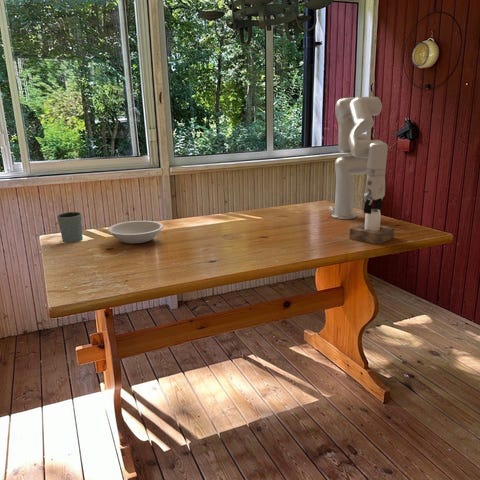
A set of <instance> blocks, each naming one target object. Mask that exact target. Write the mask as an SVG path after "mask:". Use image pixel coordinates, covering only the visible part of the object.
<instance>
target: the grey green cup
mask: <svg viewBox="0 0 480 480" xmlns="http://www.w3.org/2000/svg"><path fill="white" fill-rule="evenodd" d="M56 218H57V222H58V226H59V229H60V231H59V232H60V235H61V241H62V242H63V243H65V244H73V243H79V242H81V241H83V224H82V212H79V211H68V212H67V211H66V212H62V213H59V214H58V215H56Z"/></svg>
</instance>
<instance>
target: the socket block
mask: <svg viewBox="0 0 480 480" xmlns="http://www.w3.org/2000/svg"><path fill="white" fill-rule="evenodd" d="M364 228H365V222H363V223H361V224H358V225H356V226H353V227H351V228H349V237H348V238H349V239H351V240H354V241H360V242H364V243H368V244H369V243H370V244H373V245H374V244H375V245H379V246H380V245H381V244H384V243H386V242H387V241H389V240H391V239H394V237H395V236H394V235H395V227H393V226H387V225H381V224H380V230H378V231H371V230H365V229H364Z"/></svg>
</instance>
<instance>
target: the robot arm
mask: <svg viewBox="0 0 480 480" xmlns="http://www.w3.org/2000/svg"><path fill="white" fill-rule="evenodd" d="M382 109H383V105H382V101H381V100H380V98H379V97H378V96H358V97H356V96H355V97H343V98H339V99H338V100H337V101H336V104H335V108H334V113H335V117H336V120H337V125H338V127H337V128H338V129H337V130H338V135H337V136H338V139H337V140H338V141H337V147H338V151H339V152H340V153H342V154H351V155H343V156H342V155H341V156H339V157H337V158H336V159H335V160H334V161H335V162H334V168H335V169H334V171H335V193H334V197H335V198H334V206H329V208H328V211H329V212H332V213H331V215H330V216H331V217H332V218H333V219H334V218H335V219H340V220H352V219H355V218H356V217H357V215H356V213H354V201H355V199H354V198H355V181H354V179H353V178H352V176H354V175H355V176H356V175H365V174H366V176H367V177H366V181H365V189H364V194H363V196H362V197H363V204H364V205H363V214H366V213H367V214H371V209H373V207H372V206H373V204H372V203H373V201H374V209H378V210H380V211H381V210H382V208H383V200H384V197H385V196H386V172H387V171H386V170H387V159H388V158H387V157H388V150H389V149H388V147H389V145H388V144H387V143H386V142H383V141H382V140H380V139H371V138H370V137H369V135H368V134H365V133H366V132H368V131H370V130H371V129H372V128H373V127H374V123H375V122H374V121H375V120H374V119H373V116H374V117H376V116H379V115H380V114H381V112H382Z"/></svg>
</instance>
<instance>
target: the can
mask: <svg viewBox="0 0 480 480" xmlns="http://www.w3.org/2000/svg"><path fill="white" fill-rule="evenodd" d="M364 217H365V219H364V223H365V228H364V229H365V230H371V231H378V230H380V225H381V220H382V219H381V218H382V214H381V210H380V209H375V208H372V209H371V214H367V213H365V216H364Z"/></svg>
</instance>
